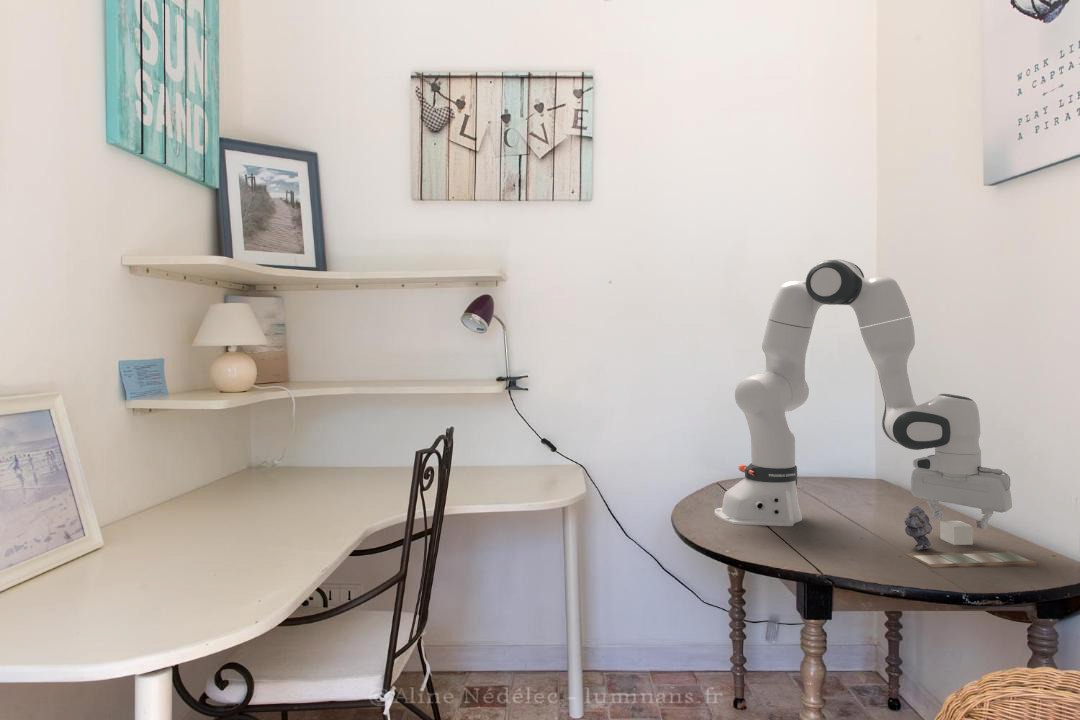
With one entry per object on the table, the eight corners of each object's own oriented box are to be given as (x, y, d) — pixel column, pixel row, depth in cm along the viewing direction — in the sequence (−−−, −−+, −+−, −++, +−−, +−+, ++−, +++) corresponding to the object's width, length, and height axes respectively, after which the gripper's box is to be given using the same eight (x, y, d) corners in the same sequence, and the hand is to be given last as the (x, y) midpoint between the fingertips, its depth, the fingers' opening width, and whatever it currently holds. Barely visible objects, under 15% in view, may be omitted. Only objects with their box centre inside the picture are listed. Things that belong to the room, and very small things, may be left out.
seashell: (932, 555, 134) (932, 510, 134) (904, 551, 137) (903, 507, 137) (932, 548, 139) (931, 504, 139) (904, 544, 142) (904, 501, 141)
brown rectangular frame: (931, 569, 126) (931, 566, 126) (906, 556, 134) (906, 553, 134) (1038, 565, 127) (1038, 562, 127) (1006, 552, 135) (1006, 550, 135)
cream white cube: (954, 546, 140) (954, 526, 140) (940, 539, 145) (940, 521, 145) (972, 545, 140) (973, 526, 140) (958, 539, 145) (958, 520, 145)
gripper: (1017, 468, 134) (1018, 531, 134) (920, 456, 152) (922, 512, 152) (1002, 472, 131) (1004, 536, 131) (906, 459, 149) (907, 516, 149)
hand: (959, 523), depth 142 cm, fingers open, 8 cm apart
